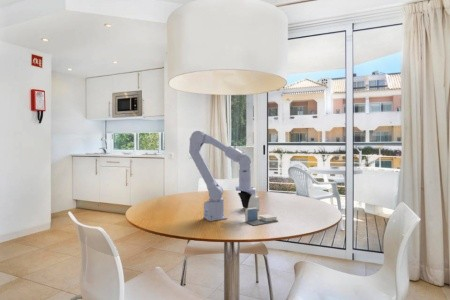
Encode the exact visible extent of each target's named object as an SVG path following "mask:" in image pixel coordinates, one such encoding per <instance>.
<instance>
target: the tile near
mask: <svg viewBox="0 0 450 300" xmlns="http://www.w3.org/2000/svg"><path fill="white" fill-rule="evenodd" d="M244 212H245V214H244V219H245V223H246V222H247V221H253V220H259V214H258V213H259V210H258V208H256V207H254V208H247V209H244Z"/></svg>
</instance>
